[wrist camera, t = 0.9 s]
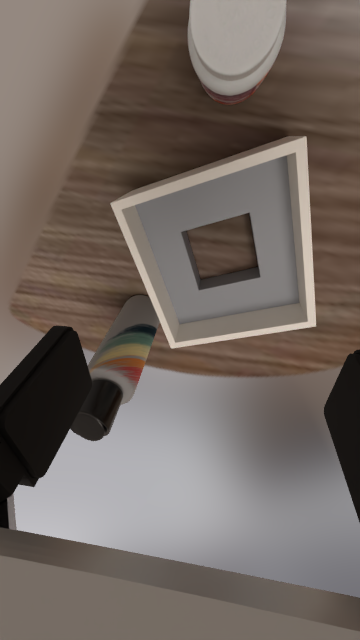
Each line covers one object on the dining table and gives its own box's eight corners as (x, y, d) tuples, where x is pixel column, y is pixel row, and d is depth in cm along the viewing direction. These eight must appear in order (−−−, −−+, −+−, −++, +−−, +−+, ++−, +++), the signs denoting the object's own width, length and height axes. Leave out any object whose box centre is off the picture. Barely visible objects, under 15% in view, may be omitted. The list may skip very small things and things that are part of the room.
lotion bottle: (137, 330, 42) (82, 452, 26) (117, 301, 40) (42, 417, 23) (168, 319, 40) (130, 444, 24) (149, 288, 38) (91, 405, 21)
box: (288, 136, 26) (306, 136, 20) (301, 295, 35) (316, 326, 29) (131, 190, 31) (110, 203, 25) (179, 317, 40) (171, 348, 34)
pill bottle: (264, 103, 25) (286, 84, 15) (197, 107, 26) (182, 91, 16) (274, 3, 21) (312, -97, 12) (197, 12, 22) (177, -76, 13)
